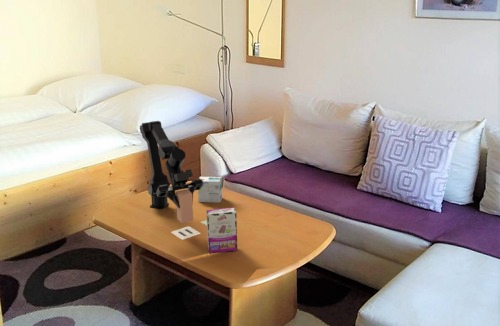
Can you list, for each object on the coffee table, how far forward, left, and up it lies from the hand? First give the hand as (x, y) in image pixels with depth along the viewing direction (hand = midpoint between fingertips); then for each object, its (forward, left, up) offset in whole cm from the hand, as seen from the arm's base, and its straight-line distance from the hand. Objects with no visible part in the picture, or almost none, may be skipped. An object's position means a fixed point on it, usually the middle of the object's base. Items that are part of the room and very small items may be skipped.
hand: (185, 206), depth 219 cm
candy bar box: (+18, -5, -13) cm, 23 cm away
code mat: (+2, +8, -13) cm, 15 cm away
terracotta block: (-1, +1, -6) cm, 7 cm away
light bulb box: (-10, +37, -13) cm, 41 cm away
